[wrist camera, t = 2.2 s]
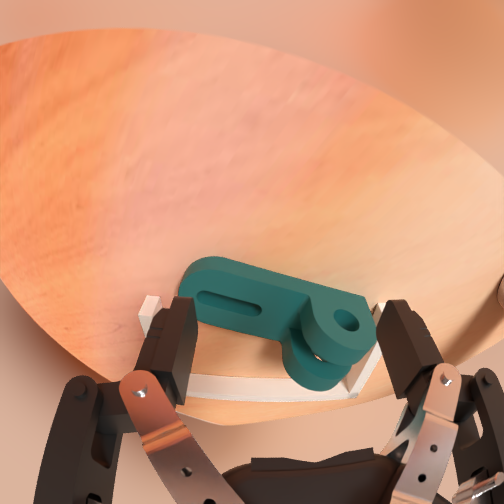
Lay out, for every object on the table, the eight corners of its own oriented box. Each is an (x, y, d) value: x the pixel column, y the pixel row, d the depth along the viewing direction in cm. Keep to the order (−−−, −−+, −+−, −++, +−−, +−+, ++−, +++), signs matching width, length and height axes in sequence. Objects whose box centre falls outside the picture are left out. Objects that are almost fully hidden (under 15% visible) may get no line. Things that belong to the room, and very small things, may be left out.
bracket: (363, 295, 27) (386, 354, 21) (333, 337, 31) (345, 394, 24) (190, 246, 25) (167, 305, 18) (179, 299, 28) (159, 359, 22)
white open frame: (389, 302, 28) (398, 321, 25) (352, 380, 36) (356, 397, 33) (146, 295, 28) (137, 314, 25) (171, 376, 36) (167, 393, 34)
